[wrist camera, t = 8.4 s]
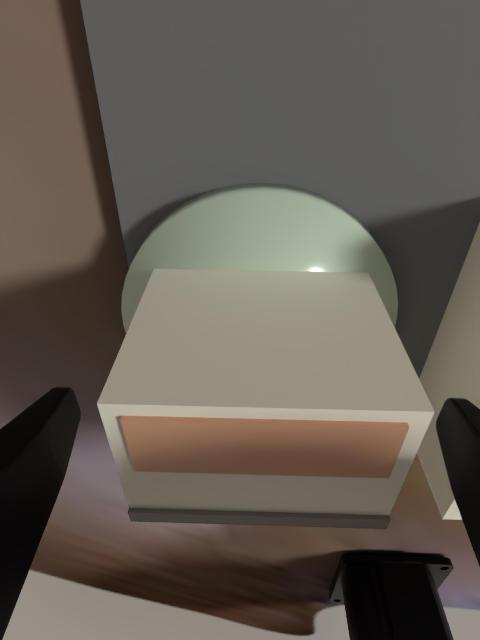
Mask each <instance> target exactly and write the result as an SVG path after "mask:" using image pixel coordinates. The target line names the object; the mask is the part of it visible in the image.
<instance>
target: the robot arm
mask: <svg viewBox="0 0 480 640" xmlns="http://www.w3.org/2000/svg"><path fill="white" fill-rule="evenodd" d="M80 416H81V413H80V408H79V405H78V402H77V399H76V396H75V393H74V391H73V390H72V389H71V388H66V387H56V388H53V389H51V390H50V391H49V392H47V393H46V394H45V395H43V396H42V397H41V398H40V399H38V400H37V401H36V402H35V403H33V404H32V405H31V406H29V407H28V408H27V409H26V410H24V411H23V412H22V413H20V414H19V415H18V416H17V417H15V418H14V419H13V420H12V421H10V422H9V423H8V424H6V425H5V426H4V427H3V428H1V429H0V640H2V639H3V636H4V634H5V631H6V628H7V626H8V623H9V621H10V618H11V616H12V613H13V610H14V608H15V605H16V602H17V600H18V597H19V595H20V592H21V589H22V587H23V584H24V582H25V579H26V577H27V574H28V571H29V569H30V566H31V564H32V561H33V559H34V556H35V553H36V551H37V548H38V546H39V543H40V540H41V538H42V535H43V533H44V530H45V527H46V525H47V522H48V520H49V517H50V515H51V512H52V509H53V507H54V504H55V502H56V499H57V496H58V494H59V491H60V489H61V486H62V483H63V480H64V477H65V474H66V471H67V467H68V463H69V459H70V456H71V452H72V448H73V444H74V440H75V437H76V433H77V429H78V425H79V422H80ZM436 431H437V435H438V439H439V443H440V447H441V451H442V455H443V459H444V463H445V467H446V471H447V475H448V479H449V482H450V486H451V490H452V493H453V495H454V498H455V501H456V504H457V507H458V509H459V512H460V515H461V517H462V520H463V523H464V525H465V528H466V531H467V534H468V536H469V539H470V542H471V544H472V547H473V550H474V552H475V555H476V558H477V560H478V563H479V566H480V409H479V408H478V407H477V406H475V405H474V404H473V403H471V402H470V401H469V400H467V399H465V398H448V399H447V400H446V401H445V402H444V404H443V407H442V409H441V411H440V413H439V415H438V417H437V420H436ZM452 569H453V565H452V562H451V560H450V559H449V558H445V557H418V556H389V555H361V554H348V555H345V556H343V557H342V559H341V562H340V564H339V567H338V570H337V573H336V576H335V578H334V581H333V584H332V587H331V589H330V592H329V597H330V602H331V603H336V604H345V610H346V617H347V623H348V629H349V636H350V640H453V636H452V634H451V630H450V627H449V624H448V622H447V618H446V615H445V612H444V609H443V606H442V603H441V600H440V597H439V594H438V591H437V589H438V588H439V586H440V585H441V584H442V583H443V581H444V580H445V579H446V577H447V576H448V575H449V573H450V572H451V571H452Z"/></svg>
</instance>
